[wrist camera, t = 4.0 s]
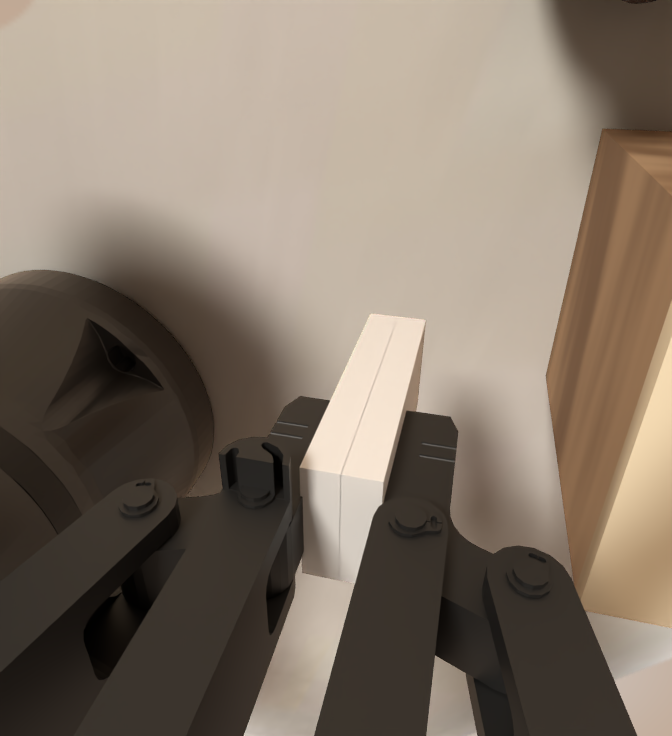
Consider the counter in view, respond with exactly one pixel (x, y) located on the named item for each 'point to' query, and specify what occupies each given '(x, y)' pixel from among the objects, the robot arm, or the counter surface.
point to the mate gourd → (638, 1)
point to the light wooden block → (619, 383)
